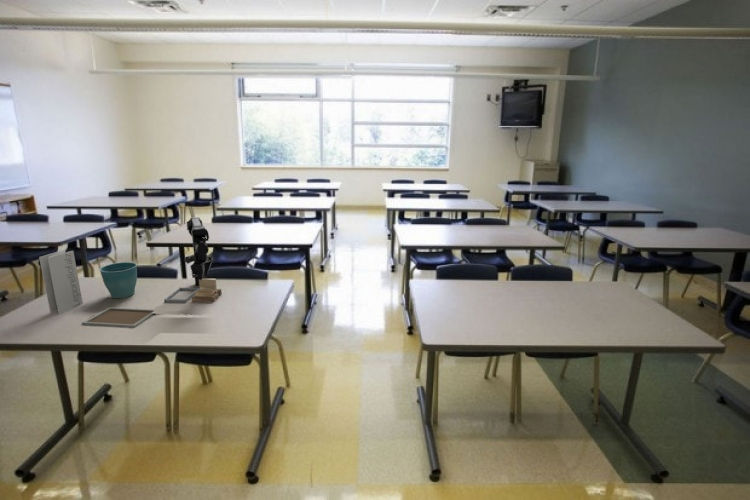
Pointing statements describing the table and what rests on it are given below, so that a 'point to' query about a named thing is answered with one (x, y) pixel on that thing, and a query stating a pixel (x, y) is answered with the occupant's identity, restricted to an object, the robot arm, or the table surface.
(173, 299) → the gray tray
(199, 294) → the upper oak offcut
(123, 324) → the picture frame
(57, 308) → the brochure
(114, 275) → the flower pot
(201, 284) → the birch sheet
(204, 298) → the walnut rack
